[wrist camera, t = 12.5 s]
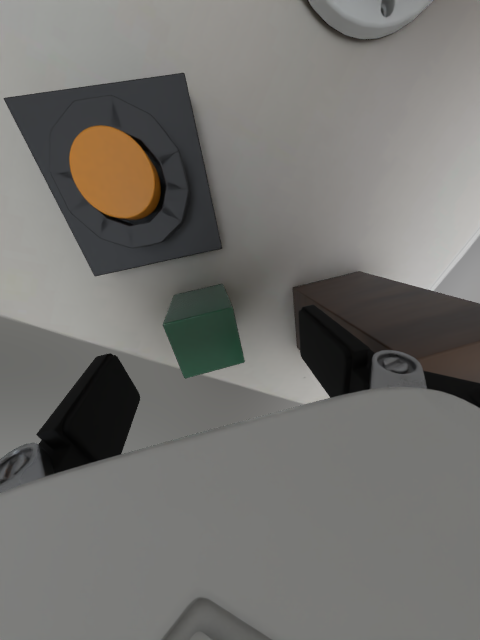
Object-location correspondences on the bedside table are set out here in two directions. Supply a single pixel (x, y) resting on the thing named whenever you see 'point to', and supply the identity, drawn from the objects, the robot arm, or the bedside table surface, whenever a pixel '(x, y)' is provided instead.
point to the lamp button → (114, 173)
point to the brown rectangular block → (401, 320)
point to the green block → (203, 331)
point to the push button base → (157, 142)
